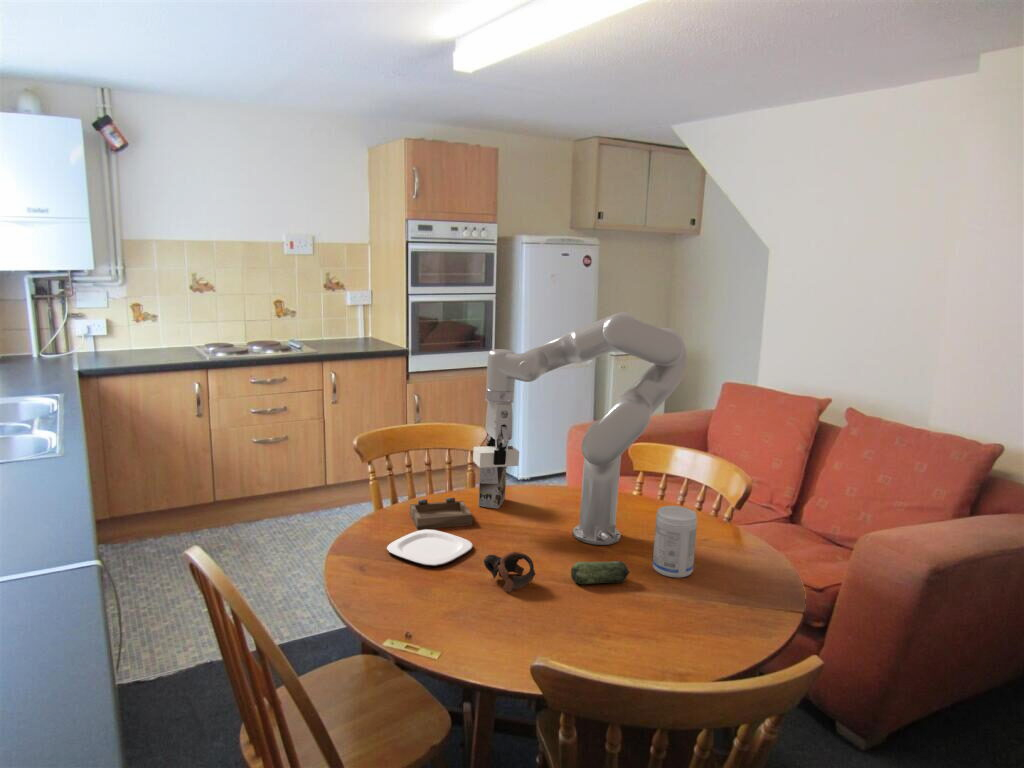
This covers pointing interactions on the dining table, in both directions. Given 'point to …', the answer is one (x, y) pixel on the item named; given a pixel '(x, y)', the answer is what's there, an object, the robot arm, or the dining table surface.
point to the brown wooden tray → (440, 514)
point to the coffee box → (492, 486)
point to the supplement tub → (674, 541)
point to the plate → (430, 547)
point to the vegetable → (599, 572)
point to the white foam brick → (486, 456)
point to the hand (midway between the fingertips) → (495, 460)
